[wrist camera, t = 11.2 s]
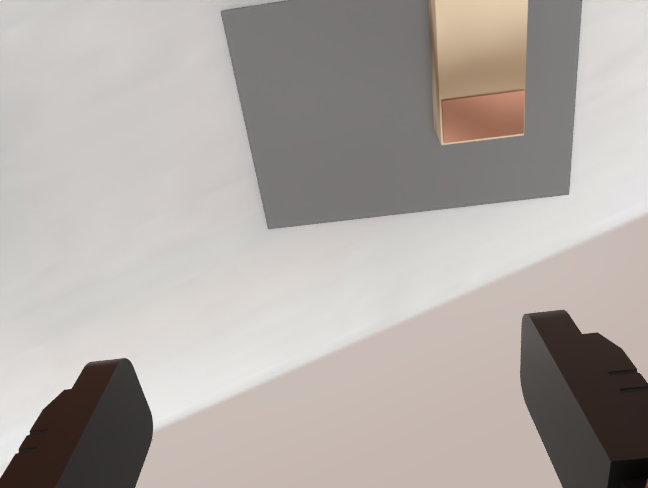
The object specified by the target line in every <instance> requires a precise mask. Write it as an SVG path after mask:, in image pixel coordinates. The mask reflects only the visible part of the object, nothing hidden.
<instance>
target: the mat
mask: <svg viewBox="0 0 648 488" xmlns="http://www.w3.org/2000/svg"><path fill="white" fill-rule="evenodd" d="M581 8H582V0H528V17H527V49H526V81H525V113H524V135H522V136H513V137H505V138H497V139H489V140H480V141H472V142H464V143H456V144H447V145H441V143H440V141H439V139H438V137H437V135H436V133H435V131H434V116H433V95H432V74H431V53H430V32H429V11H428V0H287V1H281V2H275V3H269V4H262V5H256V6H250V7H243V8H237V9H231V10H224V11H221V15H222V20H223V24H224V29H225V34H226V38H227V43H228V47H229V52H230V57H231V61H232V66H233V70H234V75H235V79H236V84H237V89H238V93H239V98H240V102H241V107H242V111H243V116H244V121H245V125H246V130H247V134H248V139H249V144H250V148H251V153H252V157H253V162H254V166H255V171H256V176H257V180H258V185H259V189H260V194H261V199H262V203H263V208H264V212H265V217H266V221H267V226H268V229H275V228H283V227H292V226H301V225H309V224H318V223H327V222H335V221H344V220H353V219H361V218H370V217H379V216H387V215H396V214H405V213H413V212H422V211H431V210H439V209H448V208H457V207H465V206H474V205H483V204H491V203H500V202H509V201H517V200H526V199H535V198H543V197H552V196H561V195H569V186H570V171H571V156H572V142H573V127H574V112H575V97H576V82H577V68H578V53H579V38H580V23H581Z"/></svg>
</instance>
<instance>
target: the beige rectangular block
mask: <svg viewBox="0 0 648 488" xmlns="http://www.w3.org/2000/svg"><path fill="white" fill-rule="evenodd" d="M428 11H429V32H430V53H431V74H432V95H433V116H434V131H435V133H436V135H437V137H438V139H439V141H440V143H441V145H447V144H456V143H464V142H472V141H480V140H489V139H497V138H505V137H513V136H522V135H524V113H525V81H526V49H527V17H528V0H428Z"/></svg>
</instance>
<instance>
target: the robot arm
mask: <svg viewBox="0 0 648 488" xmlns="http://www.w3.org/2000/svg"><path fill="white" fill-rule="evenodd" d="M520 378H521V386H522V392H523V396H524V400H525V403H526V405H527V408H528V410H529V412H530V415H531V417H532V419H533V421H534V424H535V426H536V428H537V430H538V433H539V435H540V437H541V439H542V442H543V444H544V446H545V448H546V451H547V453H548V455H549V457H550V460H551V462H552V464H553V466H554V469H555V471H556V473H557V475H558V478H559V480H560V482H561V484H562V487H563V488H648V383H647V382H646V380H645V379H644V378H643V376H642V375H641V374H640V373H638V372H637V368H636V367H635V366H634V365H633V363H632V362H631V360H630V359H629V358H628V356H627V355H626V354H625V352H624V351H623V350H622V349H621V348H620V347H618V346H617V345H615V344H614V343H612V342H611V341H609V340H608V339H606V338H605V337H603V336H602V335H600V334H599V333H589V334H582V333H581V332H580V330H579V329H578V327H577V326H576V325H575V323H574V322H573V320H572V319H571V317H570V316H569V314H568V313H567V312H566V311H565V310H556V311H547V312H539V313H530V314H524V316H523V318H522V333H521V368H520ZM152 434H153V421H152V415H151V411H150V409H149V406H148V403H147V401H146V398H145V396H144V393H143V391H142V388H141V385H140V383H139V380H138V378H137V375H136V372H135V370H134V367H133V365H132V363H131V362H130V361H129V360H128V359H126V358H122V359H113V360H104V361H96V362H89V363H88V364H87V365H86V366H85V367H84V369H83V370H82V372H81V374H80V375H79V377H78V379H77V381H76V382H75V384H74V386H73V387H72V389H68V390H64V391H63V392H62V393H61V394H59V395H58V396H57V397H56V398H55V399H54V400H53V401H52V402H51V403H50V404H49V405H48V406H46V407H45V408H44V409H43V411H42V412H41V414H40V415H39V417H38V419H37V420H36V422H35V423H34V425H33V427H32V428H31V430H30V435H27V436H26V438H25V440H24V441H23V443H22V444H21V446H20V448H19V453H18V454H15V456H14V457H13V459H12V460H11V462H10V464H9V465H8V467H7V469H6V470H5V472H4V473H3V475H2V477H1V478H0V488H135V486H136V483H137V480H138V477H139V475H140V472H141V469H142V467H143V464H144V461H145V458H146V455H147V453H148V450H149V447H150V444H151V440H152Z"/></svg>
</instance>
